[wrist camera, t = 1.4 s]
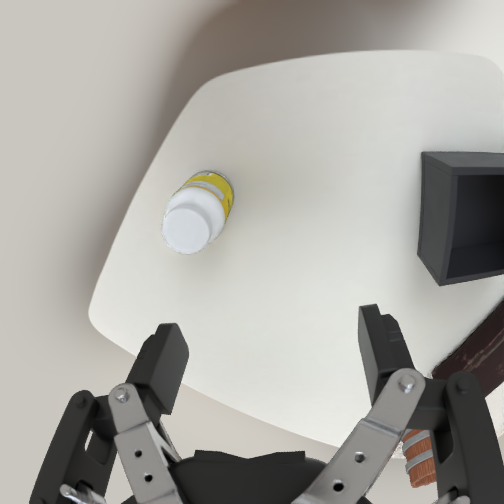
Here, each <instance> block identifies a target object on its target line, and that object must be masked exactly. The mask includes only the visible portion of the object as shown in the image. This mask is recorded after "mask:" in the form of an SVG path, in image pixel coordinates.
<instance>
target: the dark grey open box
mask: <svg viewBox="0 0 504 504" xmlns="http://www.w3.org/2000/svg"><path fill="white" fill-rule="evenodd" d="M417 255H418V256H419V258H420V259H421V261H422V262H423V264H424V265H425V266H426V268H427V269H428V271H429V272H430V274H431V275H432V277H433V278H434V280H435V281H436V283H437V284H438V286H444V285H450V284H455V283H461V282H467V281H472V280H477V279H482V278H487V277H492V276H497V275H502V274H504V153H486V152H422V193H421V216H420V231H419V243H418V253H417Z"/></svg>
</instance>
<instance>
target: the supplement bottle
mask: <svg viewBox="0 0 504 504" xmlns="http://www.w3.org/2000/svg"><path fill="white" fill-rule="evenodd" d="M233 200H234V191H233V188H232V185H231V183H230V182H229V181H228V179H227V178H226V177H224V176H223V175H222V174H220V173H218V172H215V171H202V172H199V173H197V174H195V175H193V176H192V177H191V178H190V179H189V180H188V181H187V182H186V183H185V184H184V185H183V186H182V187H181V188H180V189H179V190H178V191H177V192H176V193H175V194H174V195H173V196H172V197H171V198H170V200H169V201H168V203H167V205H166V208H165V213H164V219H163V222H162V227H161V231H162V236H163V238H164V241H165V242H166V244H167V245H168V246H169V247H170V248H171V249H173V250H174V251H176V252H178V253H181V254H195V253H197V252H199V251H201V250H202V249H203V248H204V247H205V246H206V245H207V244H209V243H211V242H212V241H214V240H215V239H216V238H217V237H218V236H219V234H220V233H221V231H222V229H223V227H224V224H225V222H226V219H227V217H228V215H229V212H230V209H231V207H232V204H233Z"/></svg>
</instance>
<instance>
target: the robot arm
mask: <svg viewBox="0 0 504 504" xmlns="http://www.w3.org/2000/svg"><path fill="white" fill-rule="evenodd" d="M358 342H359V347H360V352H361V356H362V361H363V365H364V370H365V375H366V380H367V385H368V390H369V395H370V400H371V406H372V408H371V410H370V411H369V413H368V414H367V416H366V417H365V418H362V419H361V420H360V421H359V422H358V424H357V425H356V426H355V428H354V429H353V431H352V432H351V434H350V435H349V436H348V438H347V439H346V441H345V442H344V443H343V445H342V446H341V447H340V449H339V450H338V451H337V453H336V454H335V455H334V457H333V458H332V459H331V460H330V462H329V463H328V464H326V463H325V462H322V461H319V460H317V459H313V458H308V457H306V456H305V451H295V452H276V453H272V454H268V455H263V456H259V457H254V458H249V459H246V458H242V457H238V456H234V455H231V454H227V453H223V452H218V451H204V450H195V454H194V456H193V457H189V458H186V459H182V458H181V457H180V456H179V454H178V453H177V452H176V450H175V448H174V446H173V444H172V442H171V440H170V438H169V436H168V434H167V432H166V430H165V428H164V426H163V424H162V422H161V420H160V417H161V414H166V415H171V413H172V409H173V406H174V403H175V399H176V396H177V393H178V390H179V387H180V384H181V380H182V377H183V374H184V371H185V368H186V365H187V362H188V358H189V349H188V346H187V343H186V341H185V339H184V337H183V335H182V333H181V330H180V328H179V326H178V324H176V323H163V324H160V325H159V326H158V328H157V330H156V332H155V335H151V336H150V337H149V338H148V339H147V340H146V341H145V342H144V343H143V345H142V348H141V350H140V352H139V354H138V356H137V359H136V360H135V362H134V364H133V367H132V369H131V371H130V373H129V375H128V377H127V380H126V382H125V383H122V384H119V385H117V386H116V387H114V388H113V389H112V390H111V392H110V393H109V395H105V396H99V397H94V396H93V395H92V393H91V392H90V391H87V390H82V391H79V392H77V393H75V394H74V395H73V396H72V398H71V399H70V401H69V403H68V405H67V407H66V410H65V412H64V414H63V416H62V418H61V421H60V423H59V425H58V427H57V430H56V432H55V435H54V437H53V439H52V441H51V444H50V446H49V449H48V451H47V454H46V456H45V459H44V461H43V464H42V466H41V469H40V472H39V474H38V478H37V480H36V483H35V486H34V489H33V491H32V494H31V497H30V501H29V504H107V503H106V500H105V499H104V496H105V493H106V489H107V485H108V482H109V478H110V474H111V471H112V467H113V464H114V461H115V457H116V454H117V451H118V453H119V456H120V459H121V462H122V465H123V467H124V471H125V473H126V476H127V478H128V481H129V484H130V486H131V489H132V491H133V494H134V495H133V496H131V497H130V498H128V499H127V500H126V501H124V502H123V503H121V504H372V503H371V502H370V501H369V500H368V499H367V498H366V497H365V496H366V494H367V493H368V492H369V490H370V489H371V487H372V486H373V484H374V483H375V482H376V480H377V479H378V477H379V476H380V474H381V472H382V471H383V469H384V467H385V465H386V464H387V462H388V461H389V459H390V458H391V456H392V454H393V453H394V451H395V449H396V447H397V446H398V444H399V442H400V440H401V439H402V437H403V435H404V433H405V431H406V430H407V429H415V430H429V435H430V440H431V446H432V452H433V459H434V465H435V473H436V481H437V490H438V500H436V501H435V502H433V503H432V504H504V465H503V460H502V456H501V452H500V448H499V444H498V440H497V436H496V433H495V429H494V426H493V422H492V419H491V416H490V413H489V409H488V406H487V403H486V400H485V397H484V395H483V392H482V389H481V386H480V384H479V381H478V379H477V378H476V376H474V375H473V374H472V373H470V372H467V371H458V372H455V373H453V374H452V375H451V376H450V377H449V378H448V380H438V379H429V378H426V377H424V376H423V375H422V374H421V373H420V372H419V371H417V370H416V369H415V367H414V365H413V362H412V359H411V356H410V354H409V351H408V348H407V345H406V343H405V340H404V337H403V335H402V332H401V330H400V327H399V325H398V322H397V321H396V320H395V319H394V318H393V317H392V316H391V315H390V314H386V315H381V314H380V311H379V309H378V306H377V304H371V305H364V306H359V317H358ZM90 430H91V431H92V432H93V434H92V436H91V439H90V442H89V445H88V448H87V450H86V451H85V443H86V440H87V437H88V435H89V432H90Z"/></svg>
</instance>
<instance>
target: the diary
mask: <svg viewBox="0 0 504 504" xmlns="http://www.w3.org/2000/svg"><path fill="white" fill-rule="evenodd" d="M458 371H467V372H470V373H472V374H473V375H474V376H476V378H477V379H478V381H479V384H480V386H481V389H482V392H483V395H484V397H486V396H488V395H489V394H490V393H491V392H492V391H493V390H495V389H496V388H497V387H498V386H499V385H500V384H501V383H502V382H504V301H503V302H502V303H501V304H500V305H499V306H498V308H497V309H496V310H495V311H494V312H493V313H492V314H491V315H490V316H489V317H488V318H487V319H486V321H485V322H484V323H483V324H482V325H481V326H480V327H479V328H478V329H477V330H476V331H475V332H474V334H473V335H472V336H471V337H470V338H469V339H468V340H467V341H466V342H465V343H464V344H463V345H462V346H461V347H460V348H459V349H458V350H457V351H456V352H455V353H454V354H453V355H452V356H451V357H449V358H448V359H447V360H446V361H445V362H444V363H442V364H441V365H440V366H439V367H438V368H436V369H435V370H434V371H433V372H432V376H433V379H438V380H448V378H449V377H450V376H451V375H452V374H453V373H455V372H458Z"/></svg>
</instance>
